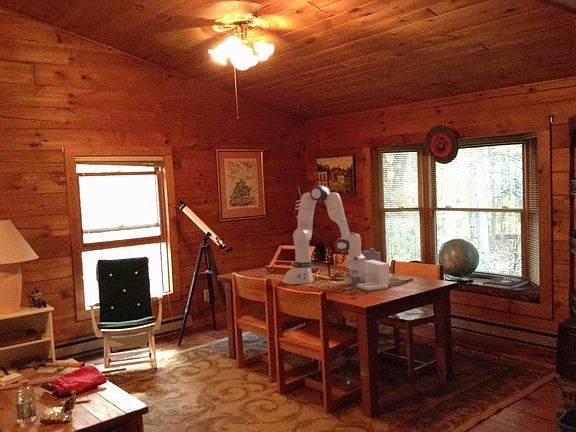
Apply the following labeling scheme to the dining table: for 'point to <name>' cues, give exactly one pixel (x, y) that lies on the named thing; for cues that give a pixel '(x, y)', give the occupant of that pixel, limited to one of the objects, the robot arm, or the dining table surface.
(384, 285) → the sage tray
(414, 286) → the dining table surface
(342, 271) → the dining table surface
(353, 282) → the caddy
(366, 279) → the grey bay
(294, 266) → the robot arm
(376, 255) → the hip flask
